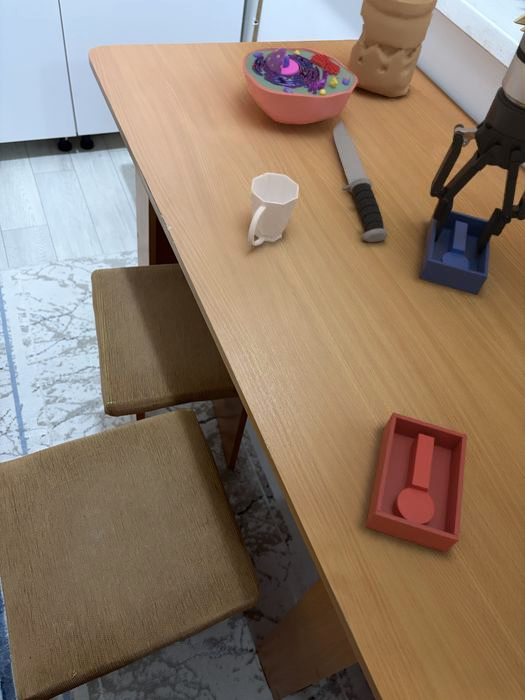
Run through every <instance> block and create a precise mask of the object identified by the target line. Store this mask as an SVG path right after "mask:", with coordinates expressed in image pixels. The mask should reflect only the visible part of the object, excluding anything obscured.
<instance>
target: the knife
mask: <svg viewBox="0 0 525 700" xmlns="http://www.w3.org/2000/svg"><path fill="white" fill-rule="evenodd" d="M332 136H333V140H334V143H335V146H336V149H337V152H338V155H339V159H340V162H341V164H342V167H343V170H344V171H343V172H344V174H345V177H346V180H347V183H348V185H346V186H343V187H341V190H342V191H349V192H351V193H352V196H353V198H354V201H355V203H356V207H357V209H358V211H359V215H360V217H361V221H362V225H363V226H364V229H365V232H364V233H363V234H362V235H361V238H362V240H363V241H365V242H367V243H378V242H381V241H383V240H385V239H386V238H387V236H388V233H387V230H386V229H385V227H384V226H385V225H384V221H383V216H382V213H381V210H380V207H379V204H378V202H377V200H376V199H377V198H376V196H375V193H374V192H373V189H372V187H373V181H372V180H371V179H370V178H368V177H367V174H366V171H365V169H364V166H363V164H362V161H361V159H360V156H359V153H358V151H357V148H356V145H355V143H354V140H353V138H352V137H351V135H350V134H349V132H348V130H347V128H346V126H345V123H344V121H343V119H341V120H339V121H338V122H337V124H336V125H335V127H334V128H333V135H332Z"/></svg>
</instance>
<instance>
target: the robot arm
mask: <svg viewBox="0 0 525 700" xmlns="http://www.w3.org/2000/svg"><path fill="white" fill-rule="evenodd" d="M494 95H495V96H494V98H493V100H492V101H491V104H490V107H489V109H488V110H487V113H486V114H485V117H484V119H483V120H482V121H481V122H480V123H479V124H478V125H477V126H476V127H465V126H464V125H463V124H462V123H457V124H455V126H454V129H453V135H452V141H451V144H450V145H449V148H448V150H447V152H446V153H445V155H444V158H443V159H442V161H441V164H440V166H439V167H438V170H437V171H436V173H435V175H434V177H433V179H432V181H431V185H430V189H429V190H430V191H429V195H430V197H431V198H437V199H438V201H437V203H436V205H435V207H434V209H433V213H434V215H433V214H432V215H433V219H435V220H438V221H437V227H436V233H435V240H434V242H437V240H438V238H439V236H440V234H441V232H442V229H443V227H444V225H445V223H446V221H447V219H448V217H449V214H450V212H451V210H452V211H453V208H454V201H455V200H454V199H455V197H456V196H457V195H458V194H459V193H460V192H461V191H462V190H463V188H464V187H466V185H467V184H468V183H469V182H470V181H471V180H472V179H473V178H474V177H475V176H476V175H477V174H478V173H479V172H481V171H482V170H484V169H485V167H487V166H490V167H498V168H500V169H502V170H505V171H506V178H505V184H504V191H503V198H502V199H503V200H502V206H501V208H499V207H495V208H494V210H493V212H492V213H491V215H490V217H489V219H488V220H489V221H488V223H487V224H486V226H485V228H484V230H483V232H482V234H481V236H480V237H479V239H478V241H477V250H476V253H477V254H480V255H481V254H482V252H483V251H484V249H485V247H486V245H487V244H488V242H489V240H490V241H491V238H492V236H495V237H499V236H500V235H501V234H502V232H503V231H504V229H505V227H506V226H507V224H510V223H511V222H512V219H517V220H518V221H525V189H524V190H523V192H522V194H521V196H520V199H519V201H518V203H517V204H514V203H515V197H516V196H515V194H516V190H517V182H518V177H519V172H520V166H521V165H523V164H524V163H525V31H524V32H523V34H522V36H521V38H520V41H519V43H518V46H517V48H516V51H515V52H514V55H513V57H512V59H511V61H510V63H509V65H508V68H507V69H506V71H505V74H504V76H503V78H502V79H501V86H500V87H498V89H497V91H496V93H495V94H494ZM472 140H475V144H476V147H477V149H476V150H475V151H474V153H473V155H472V156H471V157H470V159H469V160H468V161H467V162H466V163H465V164H464V165H463V166H462V167H461V168H460V169H459V170H458V171H457V172H456V174H455V175H454V176H453V177H451V179H450V180H449V182H448V183H447V184H446V185H445V183H446V182H447V180H448V178H449V176H450V174H451V172H452V171H453V168H454V167H455V165H456V163H457V161H458V159H459V157H460V155H461V153H462V148H466V147H467V146H468V145H469V143H470V142H471V141H472Z"/></svg>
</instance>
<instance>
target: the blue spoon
mask: <svg viewBox="0 0 525 700" xmlns="http://www.w3.org/2000/svg"><path fill="white" fill-rule="evenodd" d="M467 226H468V224H467V223H463V222H460V221H456V222H455V224H454V226H453V228H452V230H451V232H450V237H449V245H448V252H447V253H445V254H444V255H443V257H442V259H441V262H444V263H448V264H451V265H455V266H458V267H462V268H466V269H468V268H469V261H468V260H467V258H466V257H464V256H463V254H464V252H465V245H466V235H467Z"/></svg>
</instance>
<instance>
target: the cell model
mask: <svg viewBox="0 0 525 700" xmlns="http://www.w3.org/2000/svg"><path fill="white" fill-rule="evenodd" d="M242 71H243V75H244V78H245V82H246V86H247V89H248V92H249V94H250V96H251V98H252V99H253V101H254V102H255V103H256V104H257V105H258V107H259V108H260V109H261V111H263V112H264V113H265V115H267V116H268V117H269V118H271V119H272V120H273V121H275V122H276V123H278V124H279V123H280V124H286V125H308V124H313V123H318V122H324V121H327V120H331V119H333V118H335V117H337V116H339V115H340V114H342V112H343V111H344V109H345V108H346V106H347V104H348V101H349V100H350V98H351V95H352V93H353V92H354V90H355V88H356V84H357V83H358V79H357V77H356V76H355V75H354V74H353V73H352V72H351V71H350V70H349V69H348V67H347V66H345V65H344V64H343V63H342V62H340V60H338V59H337V58H335V57H334V56H332V55H329V54H327V53H324V52H321V51H319V50H317V49H314V48H311V47H307V46H295V47H294V46H293V47H291V46H289V47H286V46H285V47H282V46H279V47H277V46H268V47H261V48H257V49H254V50H251V51H250V52H247V53H246V54H245V55H244V57H243V58H242Z"/></svg>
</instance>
